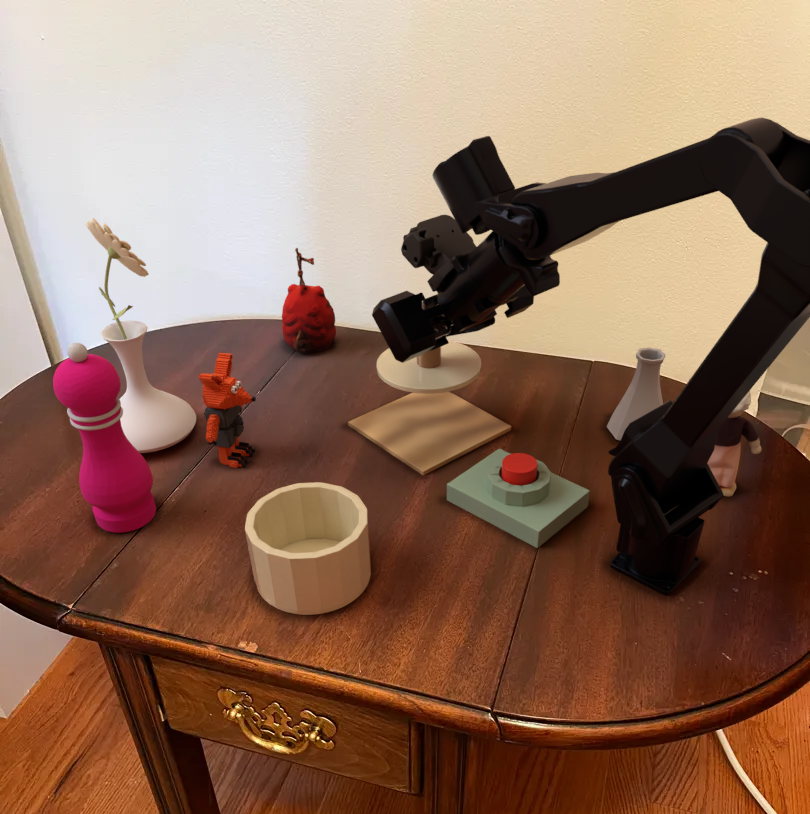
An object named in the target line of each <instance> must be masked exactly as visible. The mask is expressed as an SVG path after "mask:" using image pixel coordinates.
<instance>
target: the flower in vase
mask: <svg viewBox="0 0 810 814" xmlns="http://www.w3.org/2000/svg"><path fill="white" fill-rule="evenodd" d="M85 227H87V229H88V230H89V232H90V233H91V235H92V236H93V237H94V239H95V240H96V241H97V243H98V244H100V245H101V246H102V247H103V248H104V249H105V250H106V251H107V255H108V256H107V262H106V266H105V267H106V268H105V275H104V290H103V289H102V287H100V286H99V287H98V290H99V291H100V294H101V295H102V296H103V297H104V299H105V300H106V301H107V304H108V306H109V308H110V311H111V313H112V315H113V318H112V321H114V320H115V322H114V323H113V322H112V323H110V324H108V325H107V326H105V327H104V328H103V329H102V330H101V331H100V336H101V338H102V339H103V340H105V341H106V342H107V343H108V344H109V345H110V346H111V347H112V348H113V349H114V351H115V354H116V355H117V357H118V358H119V361H120V363H121V366H122V369H123V373H124V376H125V380H126V390H125V392H124V394H123V395H122V396H121V397H120V398H119V400H120V402H121V407H122V409H123V415H122V417H121V418H120V421H121V426H122V429H123V432H124V434H125V436H126V438H127V439H128V440H129V442H130V443H131V444H132V445H133V446H134V447H135V449H136V450H137V451H138V452H139V453H140V454H146V453H154V452H157V451H161V450H164V449H168V448H170V447H172V446H173V447H174V446H175V445H176V444H179V443H180V442H182V441H183V440H185V439H186V438H187V437H188V436H189V435H190V434H191V432H193V430H194V428H195V425H196V423H197V413H196V411H195V410H194V408H192V406H191V405H190V404H189V402H187V401H186V400H184V399H182V398H181V397H179V396H177V395H174V394H172V393H170V392H167V391H164V390H162V389H161V390H160V389H157V388H155V387H154V386H152V384H151V383H150V382H149V379H148V376H147V373H146V371H145V366H144V359H143V341H144V337H145V336H146V333H147V331H148V326H147V324H146V323H144V322H143V321H139V320H133V319H131V320H130V319H129V320H121V321H120V317H122V316H123V315H124V314H125V313H126V312H127V311H129V310H131V309H133V308H134V305H130V304H129V305H127V307H125V308H123V309H122V310H120V311H118V313H117V312H116V310H115V307H116V305H115V303H114V301H113V299H111V297H110V294H109V277H110V270H111V263H112V260H117V261H118V262H119V263H120V264H121V265H122V266H123V267H126V268H127V269H128V270H129V271H131V272H133V273H134V274H136V275H137V276H139V277H143V278H146V276H149V275H150V274H149V271H148V270H147V269H146V268H145V267H146V266H147V264H146V263H145V262H144V261H143V260H142V259H141V258H139V256H137V255H136V254H135V253H134V252H132V251H131V250H132V246H131V244H130V243H128V241H125V240H120V238H119V237H118V236H117V235H116V234H114V233H113V231H112V229H111V228H110V227H109V226H108V224H106V223H102V225H101V224H100V223H99V222H98V221H97V219H95V218H94V217H91V221H90V220H87V221H86V223H85Z"/></svg>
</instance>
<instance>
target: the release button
mask: <svg viewBox="0 0 810 814" xmlns="http://www.w3.org/2000/svg"><path fill="white" fill-rule="evenodd" d="M536 460H537V458H535V457H534V456H533V455H530V454H528V453H523V452H514V453H510V455H507V456H506V457H505V458H504V459H503V461H502V474H501V476H502V479H503V480H504V481H505V482H507V483H509V484H511V485H519V486H523V485H528V484H532V483H533V482H534V481H535V479H536V474H537V461H536Z"/></svg>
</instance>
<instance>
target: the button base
mask: <svg viewBox="0 0 810 814" xmlns="http://www.w3.org/2000/svg"><path fill="white" fill-rule="evenodd" d="M510 454H511V452H508V451H506V450H504V449H501V448H498V449H496V450H494V451H493V452H491V454H489V455H487V456H486V457H485V458H483V459H482V460H479V462H476V463H475V464H473V466H471V467H470V468H468V469H467V470H466V471H464V472H463V473H461V474H460V475H458V476H456V477H454V479H452V480H450V481H449V482H448V483H446V501H448V502H449V503H451V504H452V505H454V506H456V507H459V508H461V509H463V510H464V511H466V512H469V513H470V514H472V515H474V516H475V517H478V518H480V519H481V520H483V521H485V522H487V523H489V524H491V525H492V526H495V527H497V528H498V529H500V530H502V531H504V532H506V533H508V534H510V535H511V536H513V537H515V538H517V539H519V540H521V541H523V542H525V543H526V544H528V545H530V546H532V547H534V548H535V549H539V547H541V546H542V545H544V543H546V542H547V541H548V540H550V539H551V538H552V537H553V536H554V535H556V534H557V533H558V532H559V531H561V529H563V528H564V527H565V526H566V525H567V524H569V523H570V522H572V520H574V519H575V518H576V517H578V516H579V515H580V514H581V513H582V512H583V511H584V510H586V509H587V508H588V506H589V500H590V493H591V490H590V489H587V488H586V487H583V486H581V485H579V484H577V483H575V482H572V481H570V480H569V479H566V478H564V477H561V475H558V474H555V473H553V472H552V471H551V470H550V469H549V468H548V466H547V465H546V464H545V462H543V461H540V460H539V459H536V461H537V474H536V479H535V481H534V482H533V483H532V484H528V485H523V486H519V485H511V484H509V483H507V482H505V481H504V480H503V479H502V476H501V474H502V461H503V459H504V458H505V457H506V456H507V455H510Z"/></svg>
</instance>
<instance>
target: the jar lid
mask: <svg viewBox="0 0 810 814" xmlns="http://www.w3.org/2000/svg"><path fill="white" fill-rule="evenodd" d="M447 340H448V339H447ZM448 342H449V343H448V344H446V345H444V346H441V347H439V348H437V349H434V350H432V351H427V352H426V353H424V354H422V355H420V356H418V357H415V358H413V359H411V360H408V361H406V362H404V363H402V362H399V361H397V360H396V359H395V358H394V356H393V354H392V352H391V350H390V348H389V347H388V348H387V349H385V350H384V351H383V352H382V353H381V354H380V355H379V356H378V357H377V360H376V363H375V365H376V366H375V367H376V373H377V375H378V377H379V378H380V379H381V381H383V382H384V383H385V384H386V385H388V386H390V387H392V388H394V389H397V390H399V391H403V392H407V393H422V394H434V393H443V392H452V391H456V390H460V389H461V388H465V387H466V386H468V385H470V384H472V383H473V382H474V381H475V380H476V379H477V378H478V377H479V376H480V374H481V371H482V360H481V357H480V355H479V354H478V353H477V352H476V351H475V350H474V349H473V348H471V347H470V346H468V345H465V344H463V343H461V342H457V341H453V340H450V339H449V340H448Z"/></svg>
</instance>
